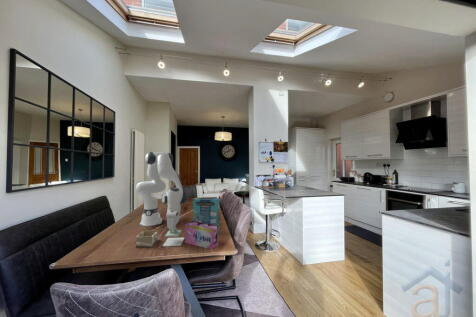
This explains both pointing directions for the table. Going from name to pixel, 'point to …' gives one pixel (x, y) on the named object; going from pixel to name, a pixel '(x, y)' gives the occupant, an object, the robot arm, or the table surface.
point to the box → (146, 238)
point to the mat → (174, 242)
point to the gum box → (201, 234)
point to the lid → (173, 233)
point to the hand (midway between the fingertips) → (173, 231)
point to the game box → (206, 210)
